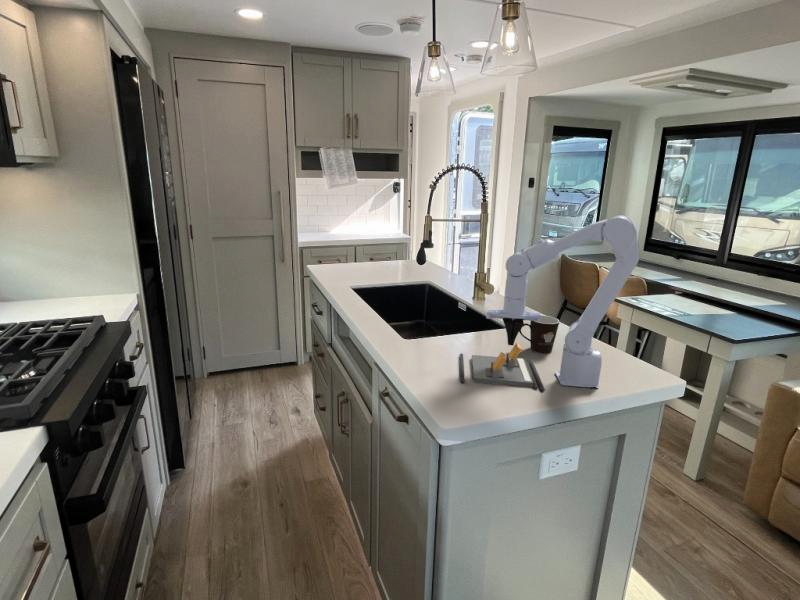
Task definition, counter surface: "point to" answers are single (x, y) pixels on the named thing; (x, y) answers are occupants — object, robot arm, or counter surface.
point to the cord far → (462, 368)
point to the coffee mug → (542, 334)
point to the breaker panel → (501, 371)
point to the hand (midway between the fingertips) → (510, 344)
